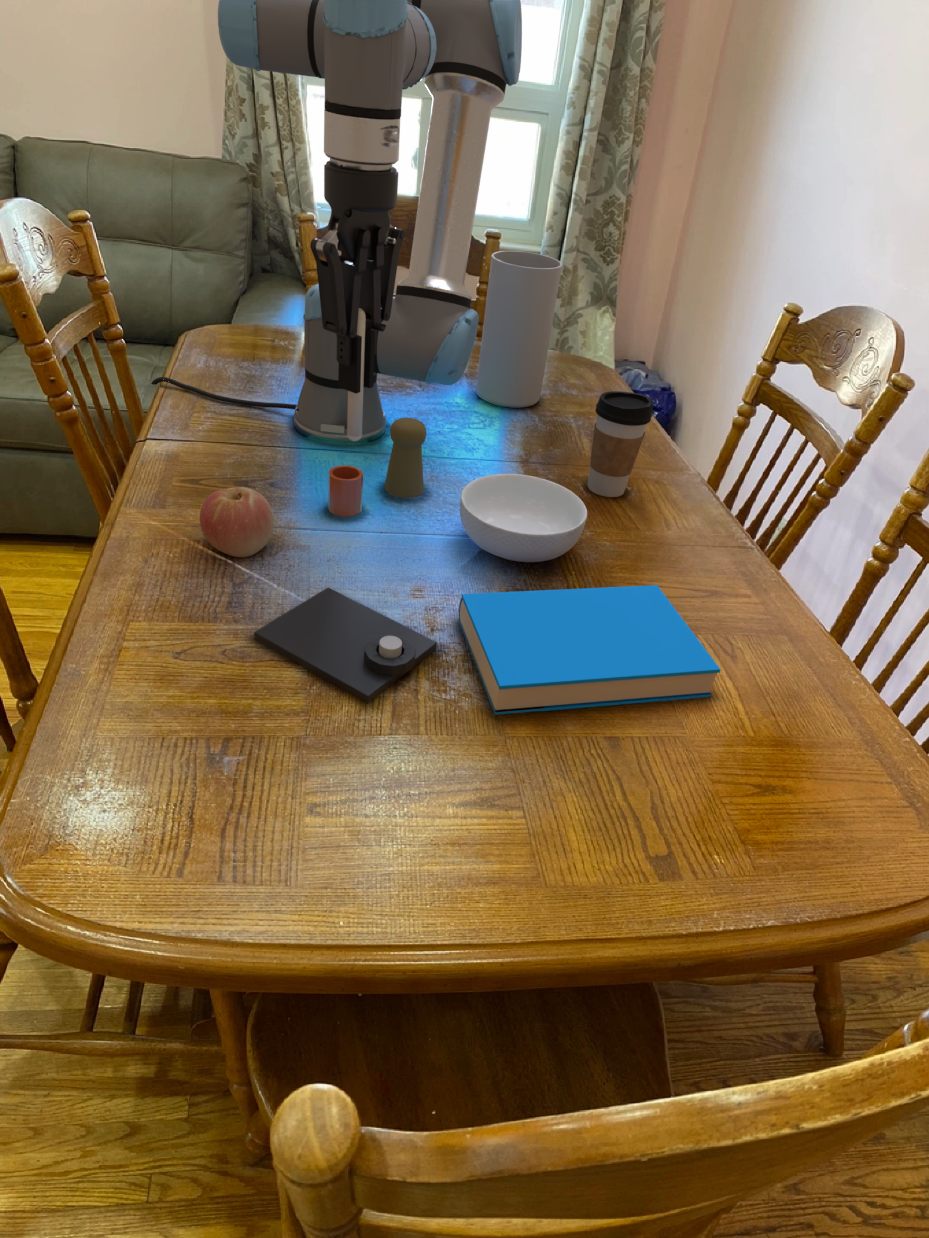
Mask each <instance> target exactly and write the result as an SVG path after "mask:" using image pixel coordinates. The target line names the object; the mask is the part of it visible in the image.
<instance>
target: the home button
mask: <svg viewBox="0 0 929 1238" xmlns="http://www.w3.org/2000/svg"><path fill="white" fill-rule="evenodd" d="M401 652H402V641H401V640H400V639H399V638H398V637H395V636H385V637H383V638H381V639H380V641H379V654H380V655H381V656H382V657H384V658H390V659H394V658H398V657H399V656H400V655H401Z"/></svg>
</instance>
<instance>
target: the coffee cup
mask: <svg viewBox="0 0 929 1238" xmlns="http://www.w3.org/2000/svg"><path fill="white" fill-rule="evenodd" d="M653 406H654V400H653V399H652V398H651V397H649V396H647V395H646V394H643V393H638V392H632V391H619V390H616V391H614V390H613V391H612V390H611V391H605V392H603V393H601V394H600V395H599V398H598V401H597V403H596V405H595V411H594V412H595V413H596V421H595V422H594V426H593V434H592V437H593V438H592V443H591V453H590V462H589V470H588V471H589V472H588V477H587V478H588V479H587V488H588V490H589V491H591V492H592V493H594V494H596V495H598V496H601V497H604V498H605V497H607V498H618V497H621V496H623V495H624V493H625V491H626V488H627V485H628V482H629V480H630V476H631V474H632V471H633V468H634V466H635V464H636V463H635V462H636V460H637V457H638V454H639V451H640V449H641V446H642V443H643V441H644V438H645V435H646V432H645V431H646V427H647V425H648V424H649V423H650V422H651V420H652V417H653Z"/></svg>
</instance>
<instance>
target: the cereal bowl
mask: <svg viewBox="0 0 929 1238" xmlns="http://www.w3.org/2000/svg"><path fill="white" fill-rule="evenodd" d="M459 517H460V522H461V525H462V527H463V530H464V533H466V534H467V537H469V538H470V540H471V541H472V542H473V543H474V544H476V546H478V547H479V548H481V549H482V550H484V551H485V552H488V553H489V554H491V555H494V556H496V557H499V558H502V559H506V560H509V561H512V562H519V563H520V562H521V563H522V562H523V563H539V562H545V561H549V560H553V559H554V560H555V559H556V558H558V557H561V556H562V555H565V554H566V553H568V552H569V551H570V550H571V549H572V548H573V547H575V545H576V544H577V543H578V541H579V540H580V537H581V535H582V533H583V531H584V528H585V526H586V522H587V519H588V511H587V507H586V505H585V503H584V502H583V500H582V499H581V498H580V497H579V496H578V495H577V494H575V492H573V491H571V490H570V489H568V488H567V487H565V486H563V485H561V484H559V483H557V482H554V481H551V480H548V479H545V478H541V477H537V476H533V475H526V474H521V473H520V474H519V473H496V474H488V475H485V476H481V477H478V478H476V479H473V480H471V481H470V482H469V483H468V484H467V485H465V486H464V488H463V489H462V491H461V495H460V498H459Z"/></svg>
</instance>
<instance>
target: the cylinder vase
mask: <svg viewBox="0 0 929 1238" xmlns="http://www.w3.org/2000/svg"><path fill="white" fill-rule="evenodd" d="M490 259H491V260H490V268H489V274H488V275H489V276H488V284H487V292H486V299H485V300H486V301H485V308H484V309H485V310H484V318H483V324H482V333H481V342H480V350H479V357H478V358H479V359H478V368H477V377H476V385H475V392H476V395H478V397H479V398H480V399H482V400H483V401H485V402H487V403H489V404H491V405H495V406H499V407H505V408H514V409H516V408H517V409H521V408H528V407H531V406H534V405H536V404H537V403H538V402H539V401H540V399H541V394H542V388H543V383H544V376H545V371H546V364H547V359H548V353H549V347H550V340H551V335H552V330H553V329H552V328H553V323H554V316H555V312H556V311H555V310H556V304H557V299H558V292H559V288H560V281H561V275H562V269H563V262H561V260H559V259H556V258H554V257H551V256H549V255H544V254H541V253H535V252H529V251H521V250H520V251H519V250H500V251H496V252H493V253H491V257H490Z"/></svg>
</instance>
